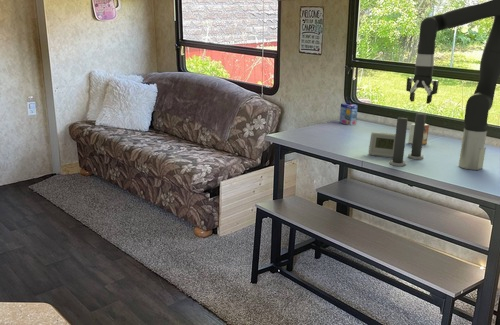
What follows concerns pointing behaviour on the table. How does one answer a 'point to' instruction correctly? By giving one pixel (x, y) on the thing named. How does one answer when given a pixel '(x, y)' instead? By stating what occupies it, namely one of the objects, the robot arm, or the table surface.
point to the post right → (418, 137)
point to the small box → (423, 134)
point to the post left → (399, 142)
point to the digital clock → (382, 144)
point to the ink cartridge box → (348, 113)
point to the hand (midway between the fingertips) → (420, 102)
